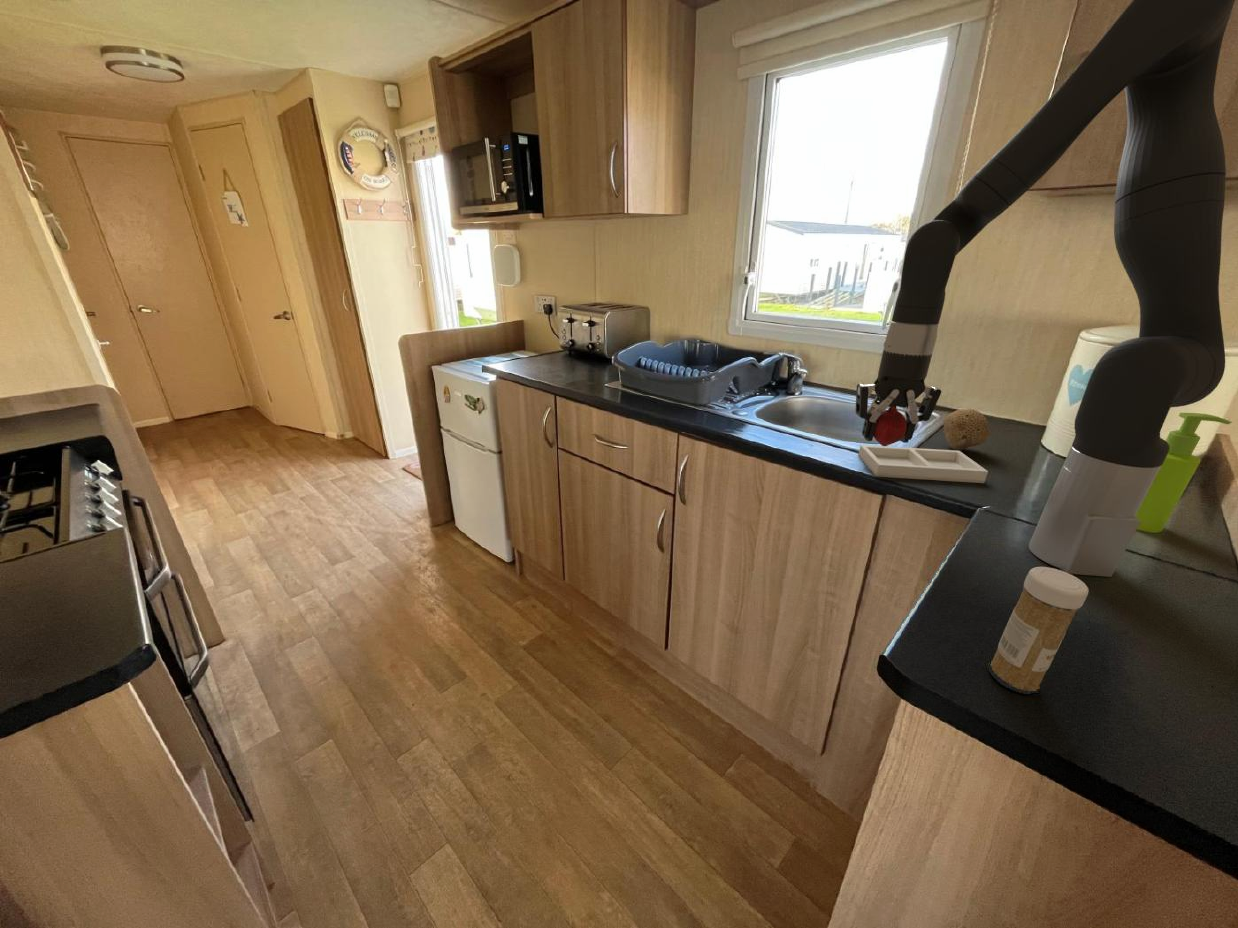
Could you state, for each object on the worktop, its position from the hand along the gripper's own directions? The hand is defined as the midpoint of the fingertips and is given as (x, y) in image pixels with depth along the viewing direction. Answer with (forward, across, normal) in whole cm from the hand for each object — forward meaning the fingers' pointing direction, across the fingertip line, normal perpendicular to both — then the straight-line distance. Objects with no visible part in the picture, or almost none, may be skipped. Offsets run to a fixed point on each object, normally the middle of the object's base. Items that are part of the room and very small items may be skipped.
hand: (885, 440), depth 91 cm
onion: (+1, 0, 0) cm, 1 cm away
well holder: (+10, +13, +12) cm, 20 cm away
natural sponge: (+10, +29, +24) cm, 39 cm away
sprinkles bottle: (+11, -3, -46) cm, 48 cm away
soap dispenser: (+11, +42, -8) cm, 44 cm away
